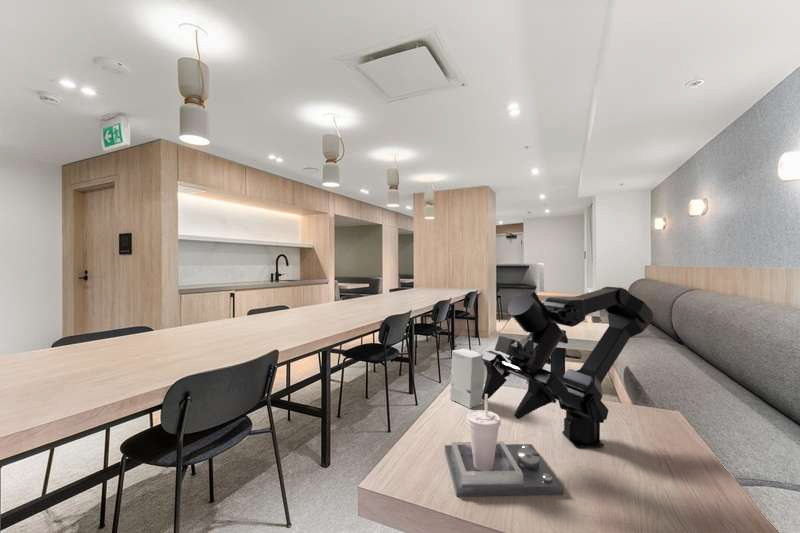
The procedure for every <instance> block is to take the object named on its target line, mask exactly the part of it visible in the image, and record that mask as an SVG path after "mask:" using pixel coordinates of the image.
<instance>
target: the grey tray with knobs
mask: <svg viewBox="0 0 800 533" xmlns="http://www.w3.org/2000/svg"><path fill="white" fill-rule="evenodd" d="M444 455H445V459H446V462H447V465H448V469H449V472H450V476H451V481H452V484H453V488H454V491H455V495H456V497H499V496H500V497H501V496H502V497H503V496H506V497H507V496H512V497H513V496H557V495H558V496H561V495H564V486H563V484H562V483H561V480H559V479H558V477H557V476H556V475H555V474H554V472H553V471H552V469H551V468H550V466H548V464H547V462H546V461H545V460H544V459H543V458H542V456H541V455H540V453H539V452H538V451H537V450H536V448H535V447H534V445H533V444H532V443H522V444H521V443H517V444H514V443H513V444H512V443H510V444H507V443H505V442H504V441H497V443H496V450H495V458H494V465H493V469H492V470H491V471H480V470H478V469H476V468H475V467H474V462H473V454H472V445H471V441H451V444H447V445H446V444H444Z"/></svg>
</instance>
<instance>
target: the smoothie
mask: <svg viewBox="0 0 800 533" xmlns="http://www.w3.org/2000/svg"><path fill="white" fill-rule="evenodd" d="M488 402H489V399H488V394H485V401H484V410H483V409H477V410H471V411H469V412H468V413H467V416H466V417H467V418H466V422H467V424H468V426H469V427H468V428H469V434H470V435H469V436H470V442H471V445H472V454H473V462H474V467H475V468H476V469H478V470H480V471H491V470H492V469H493V465H494V458H495V450H496V443H497V442H498V435H499V427H501V424H502V423H501V417H500V416H499V414H497V413H495V412H493V411H491V410H488V409H489V406H488V405H489V403H488Z"/></svg>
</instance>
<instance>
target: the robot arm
mask: <svg viewBox="0 0 800 533" xmlns="http://www.w3.org/2000/svg"><path fill="white" fill-rule="evenodd" d="M602 310H604V311H605V312H607V320H608V327H607V329H606V330H605V331H604V333H603V335H602V336H601V337H600V339H599V340H598V342H597V343H596V345H595V346H594V348H593V350H592V351H591V352H590V354H589V355H588V357H587V358H586V359H585V361H584V363H583V364H582V366H581V367H580V369H578V370H574V369H572V368H571V369H569V368H568V369H567V370H566V371H565V372H564V375H563V376H562V378H560V377H559V376H558V374H557V373H555V372H552V371H549V370H546V369H544V368H545V365H549V366H550V365H551V364H552V362H553V360H552V358H551V356H552V354H553V352H554V351H555V350H556V347H557V346H558V345H559V343H561V344H568V343H569V339H568V336H567V331H566V330H564V329H561V328H560V326H559V325H561V326H565V327H570V328H571V327H575V326H577V325H580V324H581V323H582V322H584V321H586V318H587V315H590V314H592V313H596V312H599V311H602ZM507 311H508V313H509V314H510V315H511V317H512V318H513V319H514V320H515V322H516V323H517V324H518V326H519V327H520V328H522V330H523V331H524V332H526V333H528V335H527V337H526V338H523V337H522V338H520V339H518V340H516V339H513V338H509V337H506V336H503V335H499V336H498V339H497V341H496V344H495V346H494V351H493V350H487V351H485V352H484V354H483V357H482V360H483V361H484V365H485V366H484V367H486V377H485V378H486V379H485V381H484V389H483V394H482V399H483V402H485V394H488V400H490V398H491V397H493V396H494V394H495V393H496V392H497V391H498V390H499V389H500V388H501V387H502V386H503V385H504V384H505V383H506V382H507V379H506V378H507V377H509V376H510V375H514V376H516V377H518V378H521V379H523V380H526V381H528V386H527V391H526V393H525V394H524V396H523V398H522V399H521V402H520V403H519V405H518V406H517V407H516V410H515V413H514V414H513V417H514V418H515V419H517V420H519V419H522V418H524V417H525V416H526V415H529V414H530V413H532V412H534V411H536V410H538V409H541V408H542V407H545V406H546V405H548V404H551V403H553V404H556V403H557V401H558V404H559V408H560V409H561V410H564V411H565V417H564V419H563V431H562V434H563V437H565V438H567V440H568V441H569V442H570V443H571V444H572V445H573V446H574V447H575V448H605V444H604V442H602V441H601V424H603V423H605V420H607V419H608V414H609V409H608V407H607V406H606V405H605V404H604V403H603V401H602V398H603V389H602V383H603V381H604V380H605V377H606V376H607V374H608V373H609V371H610V370H611V369H612V367H613V365H614V364H615V362H616V360H617V359H618V357H619V356H620V354H621V353H622V351H623V349H624V348H625V346H626V344H627V343H628V342H629V340H630V339H631V338H633V337H635V336H637V335H640V334H641V333H643V332H644V331H645V330H646V329H647V328H648V326H649V325H650V324H651V323H652V321H653V318H654V313H653V311H652V310H651V308H650V307H649V306H648V304H646V302H645V301H643V300H641V299H640V298H638V297H637V296H635V295H633V294H631V293H630V292H629V290H628V289H626V288H623V287H620V286H619V287H616V286H604V287H602V288H600V289H597V290H593V291H590V292H587V293H583V294H580V295H577V296H569V297H568V296H553V297H552V296H551V297H548V298H546V299H545V300H544V302H542V301H541V300H540V298H539V296H538V294H537V293H536V292H535V291H528V290H527V291H526V292H525V293H524V294H522V295H519V296H518V297H516V298H514V300H511V301H510V303H509V304H508V307H507ZM498 352H500V353H498ZM501 353H502V354H501ZM503 354H505V357H504V355H503ZM506 359H507V360H506ZM508 361H510V362H508Z"/></svg>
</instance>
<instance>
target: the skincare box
mask: <svg viewBox="0 0 800 533" xmlns="http://www.w3.org/2000/svg"><path fill="white" fill-rule="evenodd" d="M451 352H452V353H451V369H450V370H451V373H450V394H449V399H451V401H452V400H453V401H452V402H455V401H456V402H455V403H457V402H458V403H457V404H459V403H460V405H461V406H463V407H466V408H467V407H468V408H467V409H472V407H473V408H475V407H474V406H476V407H478V406H477V405H479V404H481V403H483V404H484V400H483V399H482V394H483V390H484V386H485V367H486V366H485V365H484V361H483V360H482V357H483V355H484V354H483V353H480V352H477V351H475V350H472V349H468V348H459V349H453V350H451ZM479 406H480V405H479Z"/></svg>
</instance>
